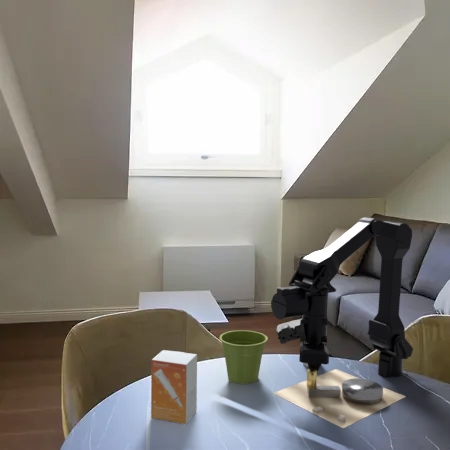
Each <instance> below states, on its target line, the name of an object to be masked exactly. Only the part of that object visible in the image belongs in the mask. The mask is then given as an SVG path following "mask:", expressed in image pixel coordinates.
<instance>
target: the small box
mask: <svg viewBox="0 0 450 450" xmlns="http://www.w3.org/2000/svg"><path fill="white" fill-rule="evenodd" d="M150 368H151V370H150V371H151V376H150V377H151V379H150V380H151V381H150V382H151V383H150V385H151V388H150V390H151V391H150V393H151V394H150V401H151V402H150V404H151V405H150V408H151V409H150V410H151V411H150V413H151V415H150V416H151V417H150V418H151V419H154V420H161V421H166V422H167V421H168V422H172V423H177V424H183V425H187V424H188V422H190V419H192V418H193V416H194V415H195V413H196V412H197V408H198V407H197V403H198V401H197V400H198V398H197V397H198V395H197V394H198V389H197V388H198V354H197V353H188V352H185V351H184V352H183V351H177V350H176V351H175V350H165V349H163V350H161V351H160V352H159V353H158V354H157V355H156V356H154V357H153V358H152V359H151V367H150Z"/></svg>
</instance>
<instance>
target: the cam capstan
mask: <svg viewBox="0 0 450 450" xmlns="http://www.w3.org/2000/svg"><path fill="white" fill-rule="evenodd" d="M306 372H307V373H306V380H307V393H308V396H333V397H340V396H341V389H340V387H339V386H317V376H318V372H317V370H316V369H309V368H307V370H306ZM359 378H360V377H358V378H354V379H348V380H345V381H344V382H343V383H342V395H343V397H345V398H346V399H348V400H350V401H352V402H355V403H359V404H376V403H379V402H380V401H382V399H383V388H384V387H383V386H382V385H381V383H378V382H376V381H373V380H370V379H366V378H360V379H359ZM382 387H383V388H382Z"/></svg>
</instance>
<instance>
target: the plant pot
mask: <svg viewBox="0 0 450 450" xmlns="http://www.w3.org/2000/svg"><path fill="white" fill-rule="evenodd" d="M219 340H220V342H221V344H222V350H223V352H224V359H225V366H226V373H227V379H228V380H227V381H228V382H229V383H235V384H241V385H246V384H247V385H248V384H252V383H255V382H258V380H259V375H260V368H261V365H262V359H263V352H264V350H265V345H266V342H267V341H268V335H266V334H264V333H262V332H258V331H255V330H254V331H253V330H241V329H238V330H230V331H226V332H224V333H221V334H220V336H219Z"/></svg>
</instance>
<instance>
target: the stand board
mask: <svg viewBox="0 0 450 450" xmlns="http://www.w3.org/2000/svg"><path fill="white" fill-rule="evenodd" d="M354 378H359V379H361V378H360V377H357V376H354V375H352V374H350V373H347V372H345V371H342V370H340V369H336V368H335V369H333V370H332V369H331V370H330V371H328V372H324V373H323V374H319V375H317V386H339V387H340V389H341V396H340V397H333V396H308V393H307V379H306V380H303V381H301V382H299V383H296V384H292V385H290V386H288V387H285V388H282V389H280V390H277V391H275V392H273V393H272V394H273V395H275V396H277V397H279V398H281V399H283V400H285V401H287V402H289V403H292V404H294V405H296V406H297V407H299V408H301V409H303V410H306V411H308V412H310V413H311V414H313V415H315V416H317V417H319V418H321V419H323V420H325V421H327V422H329V423H331V424H333V425H336V426H338V427H339V428H341V429H345V428H347V427H349V426H352V425H353V424H355V423H358V422H359V421H361V420H363V419H365V418H367V417H369V416H371V415H373V414H375V413H377V412H378V411H381V410H382V409H385V408H387V407H389V406H390V405H393V404H394V403H396V402H398V401H400V400H402V399H404V398H406V397H407V396H406V395H404V394H401V393H398V392H396V391H393V390H391V389H388V388H385V387H383V386H382V388H383V399H382V401H380V402H379V403H376V404H359V403H355V402H352V401H350V400H348V399H346V398H345V397H343V395H342V383H343V382H344V381H345V380H348V379H354Z"/></svg>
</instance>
